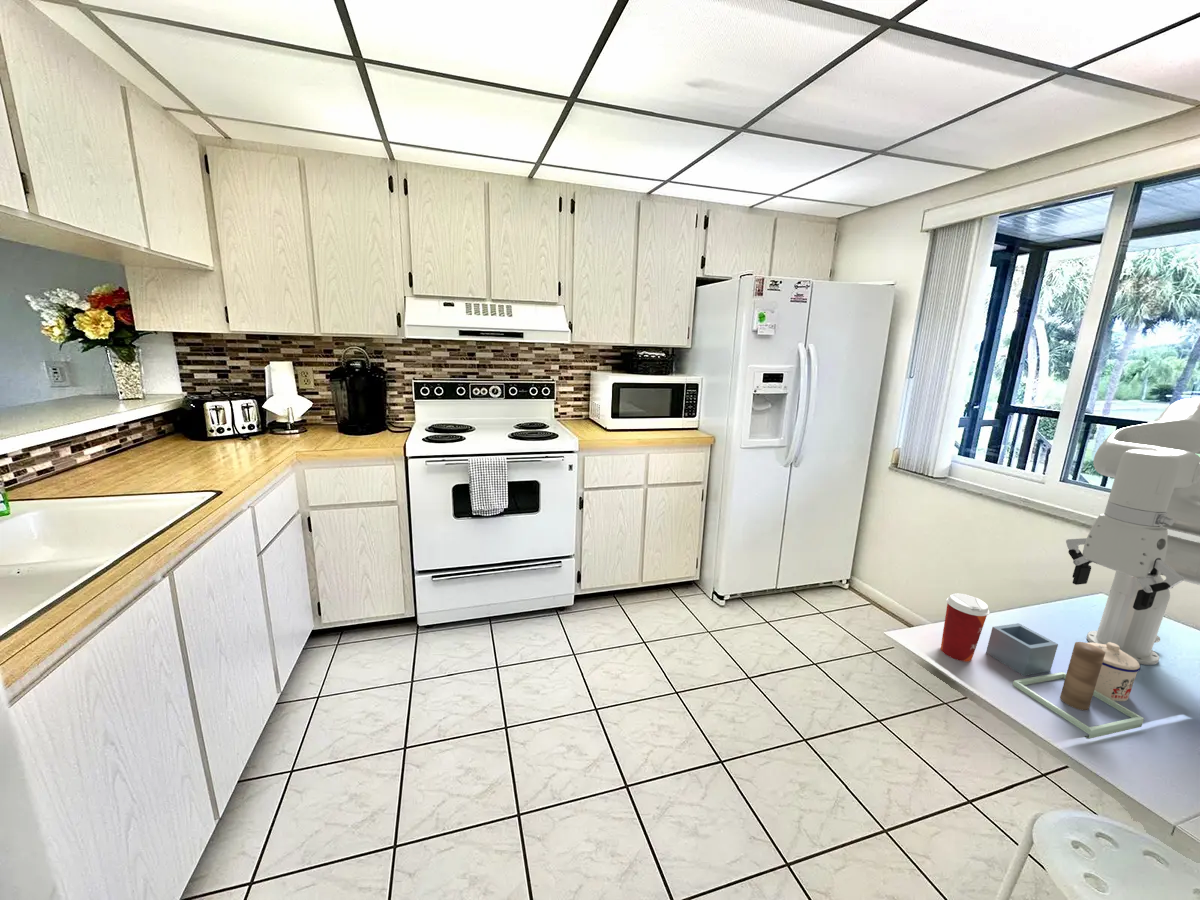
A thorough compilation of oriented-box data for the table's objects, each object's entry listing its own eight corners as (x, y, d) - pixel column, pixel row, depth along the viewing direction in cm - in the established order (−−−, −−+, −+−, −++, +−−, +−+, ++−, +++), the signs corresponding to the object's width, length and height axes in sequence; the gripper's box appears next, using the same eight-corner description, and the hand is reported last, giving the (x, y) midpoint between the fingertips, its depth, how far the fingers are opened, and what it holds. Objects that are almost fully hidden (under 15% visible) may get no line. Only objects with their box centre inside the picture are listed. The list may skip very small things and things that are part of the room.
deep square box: (1010, 652, 119) (1018, 623, 117) (1049, 674, 111) (1058, 644, 109) (985, 656, 116) (992, 626, 115) (1022, 679, 109) (1030, 648, 107)
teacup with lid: (1120, 711, 100) (1136, 662, 97) (1063, 683, 108) (1077, 638, 105) (1139, 693, 106) (1155, 647, 103) (1084, 668, 113) (1098, 625, 111)
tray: (1060, 679, 109) (1063, 671, 109) (1141, 726, 96) (1144, 718, 96) (1011, 688, 105) (1013, 680, 105) (1088, 738, 92) (1091, 730, 92)
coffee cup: (984, 670, 111) (999, 612, 108) (944, 664, 112) (958, 607, 109) (964, 648, 119) (978, 594, 116) (928, 643, 120) (940, 589, 117)
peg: (1069, 694, 103) (1084, 640, 100) (1094, 708, 99) (1110, 653, 96) (1054, 697, 102) (1069, 643, 99) (1079, 712, 98) (1095, 656, 95)
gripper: (1212, 531, 84) (1181, 618, 88) (1092, 499, 100) (1070, 573, 104) (1184, 533, 82) (1153, 622, 86) (1066, 500, 98) (1045, 576, 102)
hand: (1108, 595), depth 95 cm, fingers open, 9 cm apart
